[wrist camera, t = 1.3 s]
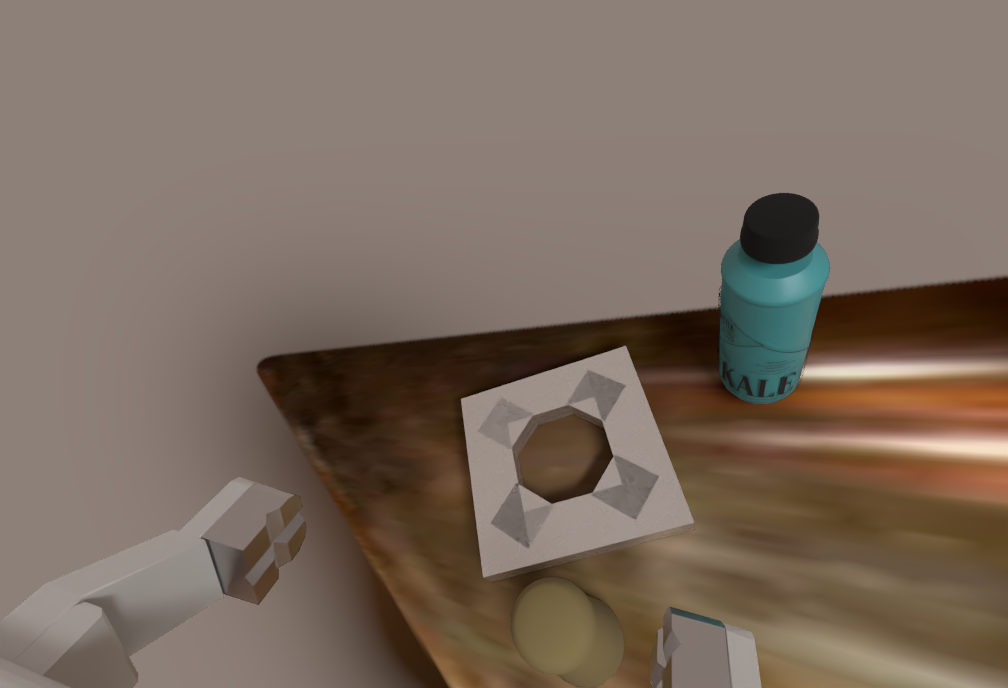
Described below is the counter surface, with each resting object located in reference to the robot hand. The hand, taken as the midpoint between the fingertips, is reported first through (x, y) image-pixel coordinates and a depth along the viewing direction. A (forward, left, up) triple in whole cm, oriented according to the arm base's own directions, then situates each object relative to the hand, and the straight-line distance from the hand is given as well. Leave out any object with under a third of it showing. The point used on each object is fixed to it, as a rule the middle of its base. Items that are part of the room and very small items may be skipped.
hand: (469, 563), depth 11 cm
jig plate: (+2, -16, -33) cm, 37 cm away
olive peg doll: (+4, -2, -33) cm, 33 cm away
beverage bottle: (-16, -18, -33) cm, 41 cm away
